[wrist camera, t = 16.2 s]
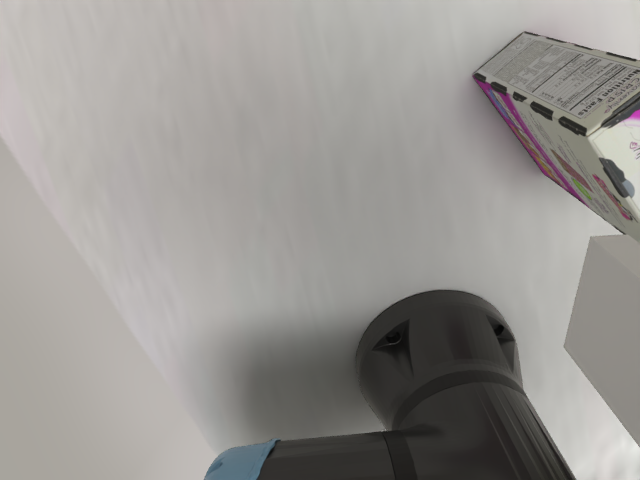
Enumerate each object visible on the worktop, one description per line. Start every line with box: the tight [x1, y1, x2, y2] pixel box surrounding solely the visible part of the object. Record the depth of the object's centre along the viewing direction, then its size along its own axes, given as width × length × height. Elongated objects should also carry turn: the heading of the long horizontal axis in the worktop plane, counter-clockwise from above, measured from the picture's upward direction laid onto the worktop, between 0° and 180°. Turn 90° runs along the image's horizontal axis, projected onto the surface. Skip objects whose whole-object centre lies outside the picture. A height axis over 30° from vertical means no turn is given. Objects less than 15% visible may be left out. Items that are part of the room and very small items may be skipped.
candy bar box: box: [473, 32, 640, 243], centre depth 33 cm, size 11×5×16 cm, turn 42°
